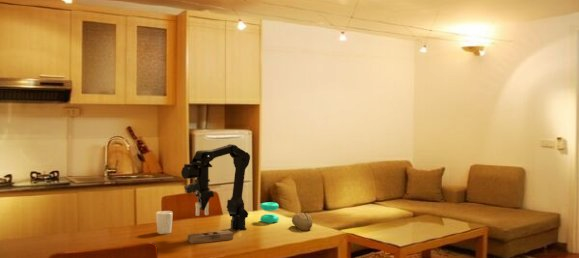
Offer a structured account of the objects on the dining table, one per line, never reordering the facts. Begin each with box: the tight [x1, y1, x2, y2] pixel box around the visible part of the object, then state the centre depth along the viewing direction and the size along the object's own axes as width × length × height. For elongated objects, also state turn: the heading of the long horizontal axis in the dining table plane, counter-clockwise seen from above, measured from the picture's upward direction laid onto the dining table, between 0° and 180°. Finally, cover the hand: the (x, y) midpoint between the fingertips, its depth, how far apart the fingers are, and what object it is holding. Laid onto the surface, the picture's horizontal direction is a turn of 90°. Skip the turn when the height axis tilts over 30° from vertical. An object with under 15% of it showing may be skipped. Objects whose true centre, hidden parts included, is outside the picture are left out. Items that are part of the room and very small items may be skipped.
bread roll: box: [291, 212, 313, 232], centre depth 263 cm, size 10×15×8 cm, turn 23°
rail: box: [187, 230, 234, 245], centre depth 236 cm, size 6×20×3 cm, turn 117°
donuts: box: [260, 201, 280, 224], centre depth 278 cm, size 10×10×10 cm
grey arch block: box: [194, 201, 210, 217], centre depth 242 cm, size 2×6×6 cm, turn 115°
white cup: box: [155, 210, 174, 235], centre depth 251 cm, size 8×8×10 cm
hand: (202, 209), depth 242 cm, fingers closed on grey arch block, 2 cm apart
